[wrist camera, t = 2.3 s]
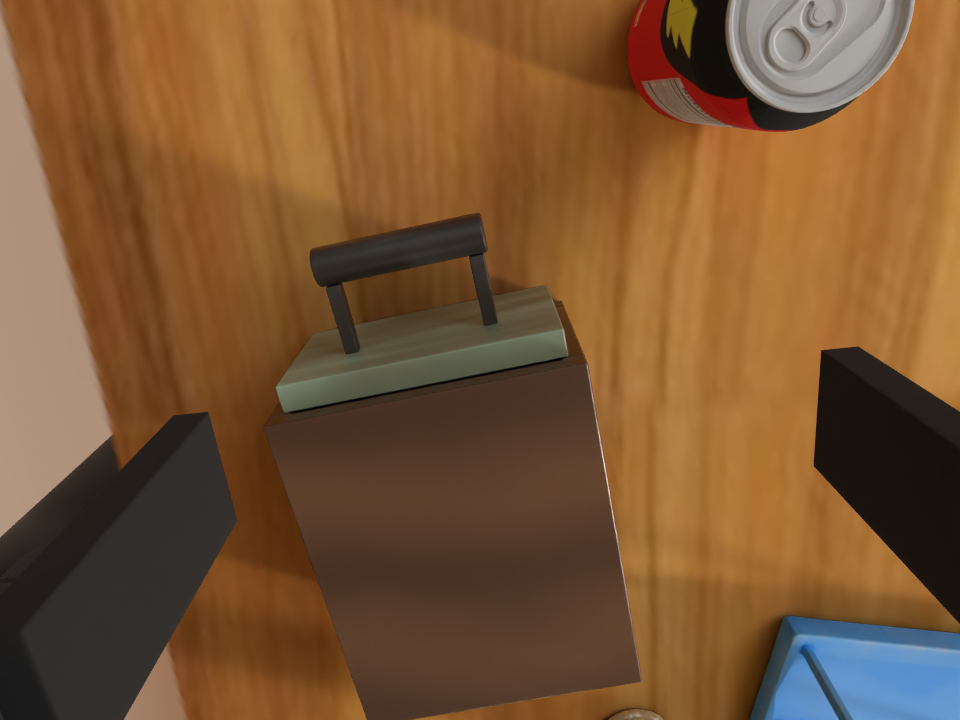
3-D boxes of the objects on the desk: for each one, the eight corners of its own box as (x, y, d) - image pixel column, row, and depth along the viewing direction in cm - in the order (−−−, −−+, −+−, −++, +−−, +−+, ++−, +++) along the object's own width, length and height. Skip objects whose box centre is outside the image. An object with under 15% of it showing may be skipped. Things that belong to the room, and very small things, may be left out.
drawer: (283, 240, 32) (235, 275, 26) (529, 187, 32) (542, 209, 25) (388, 576, 39) (371, 670, 33) (594, 538, 38) (617, 628, 32)
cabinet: (312, 351, 35) (262, 427, 27) (561, 300, 34) (588, 362, 26) (391, 600, 41) (369, 727, 33) (608, 562, 40) (642, 682, 32)
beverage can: (797, 38, 30) (985, 1, 19) (690, 151, 32) (805, 180, 21) (698, -72, 29) (838, -181, 18) (591, 53, 31) (658, 27, 19)
